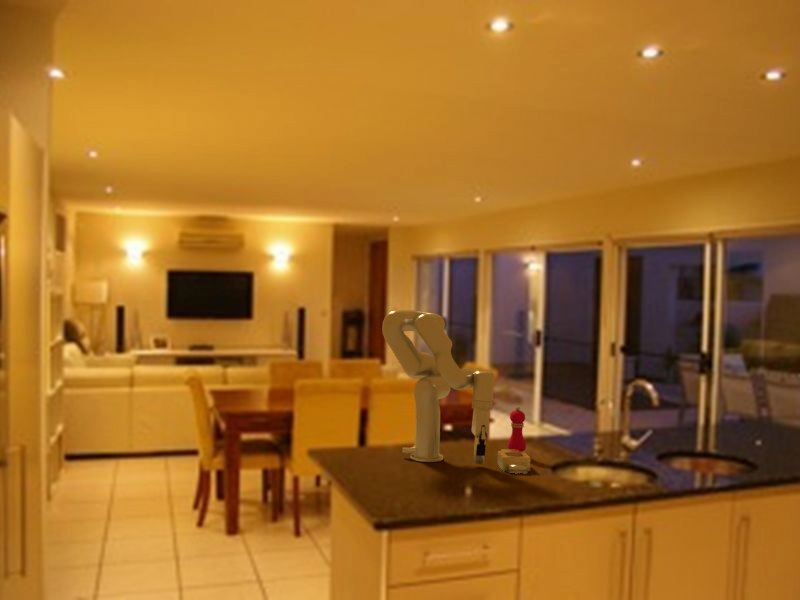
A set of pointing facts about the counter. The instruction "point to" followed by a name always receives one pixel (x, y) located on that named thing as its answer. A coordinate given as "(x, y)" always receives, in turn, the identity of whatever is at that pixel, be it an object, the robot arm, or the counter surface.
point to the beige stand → (514, 461)
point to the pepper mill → (517, 431)
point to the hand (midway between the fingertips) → (479, 453)
